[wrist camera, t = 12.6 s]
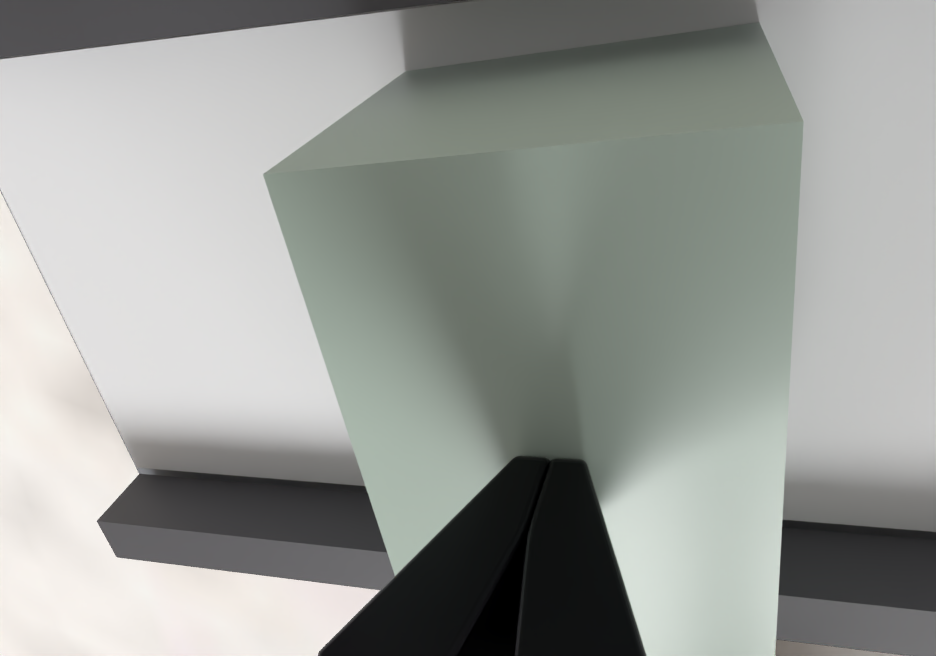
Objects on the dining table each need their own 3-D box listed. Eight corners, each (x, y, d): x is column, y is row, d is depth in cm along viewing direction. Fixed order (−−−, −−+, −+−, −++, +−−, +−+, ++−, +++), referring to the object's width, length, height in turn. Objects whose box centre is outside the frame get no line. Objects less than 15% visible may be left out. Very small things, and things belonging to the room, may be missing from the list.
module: (749, 480, 13) (772, 712, 10) (489, 470, 15) (424, 666, 11) (759, 22, 9) (802, 120, 6) (405, 71, 11) (263, 174, 7)
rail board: (1284, 571, 13) (1420, 732, 11) (176, 478, 20) (104, 563, 18) (1892, -397, 7) (2587, -547, 4) (-63, -42, 14) (-229, -22, 11)
